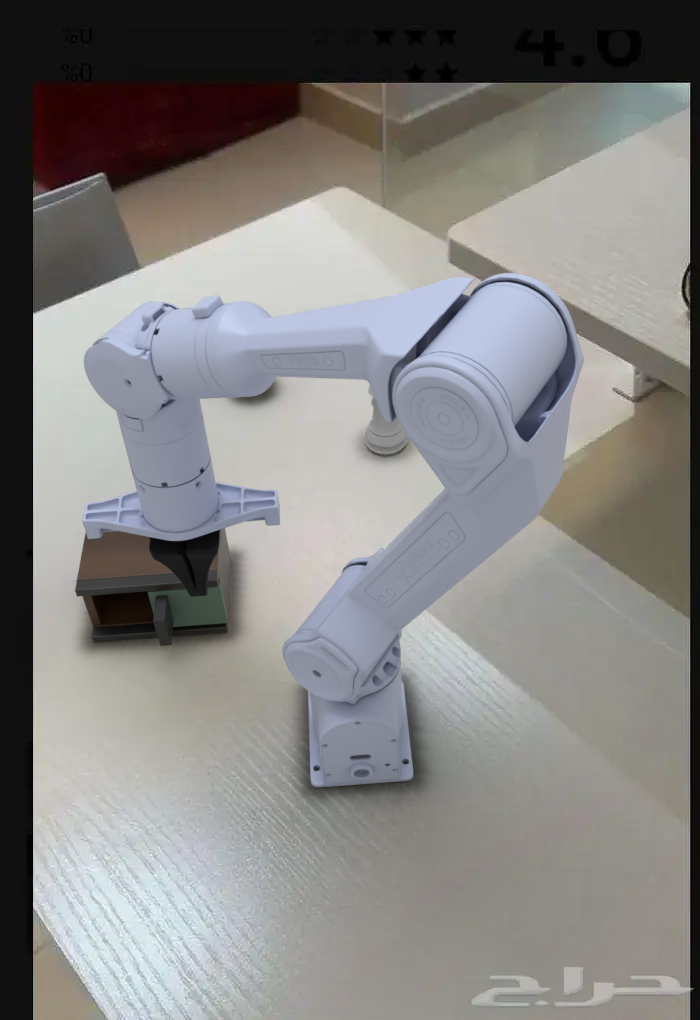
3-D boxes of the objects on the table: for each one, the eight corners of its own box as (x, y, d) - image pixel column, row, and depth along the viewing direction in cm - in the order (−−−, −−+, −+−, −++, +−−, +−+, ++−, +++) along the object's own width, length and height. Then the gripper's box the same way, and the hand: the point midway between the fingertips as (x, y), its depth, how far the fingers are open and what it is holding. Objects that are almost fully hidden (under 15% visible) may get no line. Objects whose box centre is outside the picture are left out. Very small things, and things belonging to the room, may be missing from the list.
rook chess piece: (358, 436, 112) (355, 375, 107) (397, 425, 113) (396, 364, 108) (374, 461, 109) (371, 400, 104) (414, 450, 110) (413, 389, 105)
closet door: (226, 648, 91) (219, 612, 88) (154, 653, 91) (144, 617, 88) (227, 618, 94) (220, 581, 90) (157, 623, 94) (148, 587, 90)
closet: (227, 633, 94) (216, 580, 89) (92, 642, 94) (74, 590, 89) (230, 557, 100) (220, 504, 96) (104, 567, 100) (88, 514, 95)
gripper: (271, 418, 79) (288, 544, 88) (77, 432, 79) (114, 557, 88) (271, 482, 74) (289, 609, 83) (63, 497, 74) (105, 622, 83)
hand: (199, 587), depth 85 cm, fingers closed
